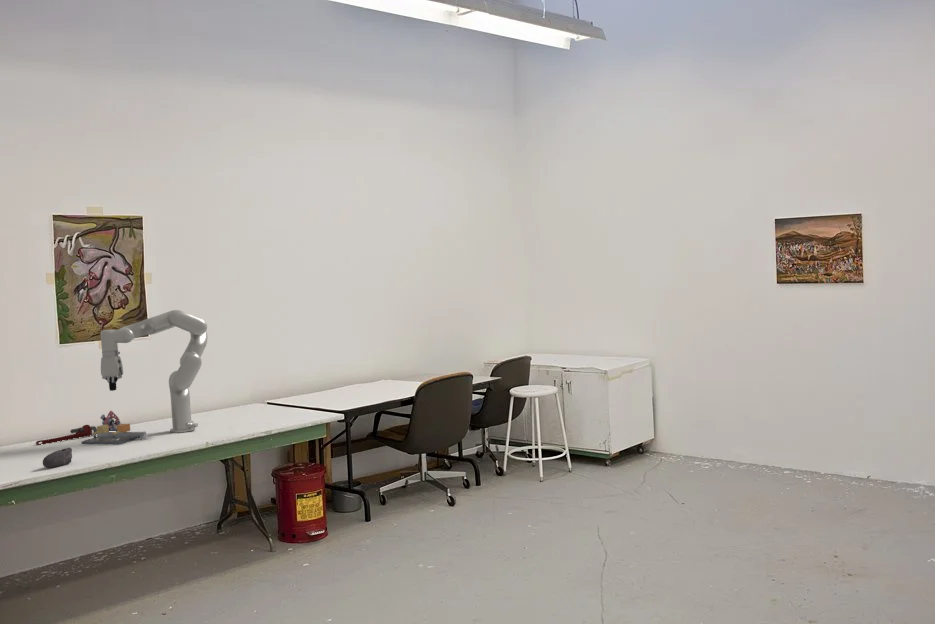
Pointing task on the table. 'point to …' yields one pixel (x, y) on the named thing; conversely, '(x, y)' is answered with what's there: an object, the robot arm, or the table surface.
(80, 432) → the pipe wrench
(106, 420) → the red grey carburetor
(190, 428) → the robot arm
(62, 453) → the perforated stone tool
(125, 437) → the bolt plate
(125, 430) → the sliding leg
